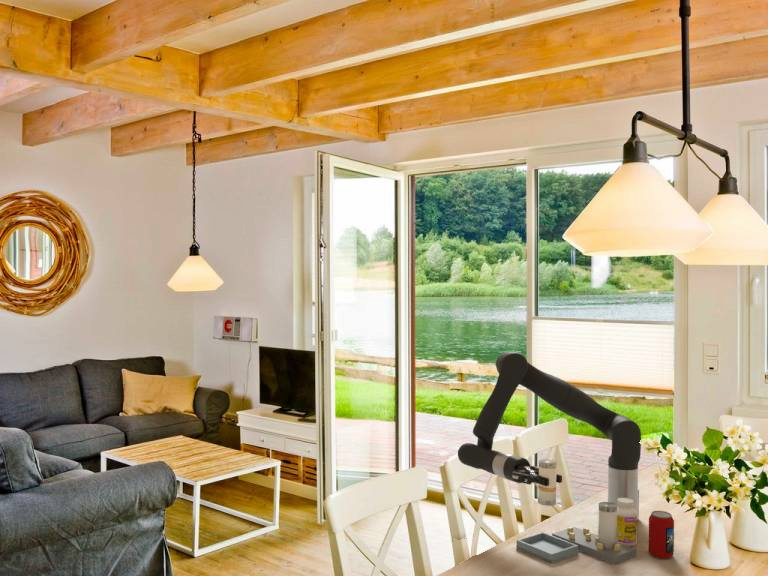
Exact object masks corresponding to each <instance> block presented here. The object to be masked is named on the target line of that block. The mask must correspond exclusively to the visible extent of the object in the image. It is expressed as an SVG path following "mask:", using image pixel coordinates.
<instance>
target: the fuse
mask: <svg viewBox="0 0 768 576" xmlns="http://www.w3.org/2000/svg"><path fill="white" fill-rule="evenodd" d="M597 526H598V527H597V529H598V531H597V532H598V534H597V535H598V543H601V544H603V549H607V550H613V549H614V545H615V544H617V505H616V504H614V503H611V502H608V501H602V502H599V503H598V525H597Z"/></svg>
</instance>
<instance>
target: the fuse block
mask: <svg viewBox="0 0 768 576" xmlns="http://www.w3.org/2000/svg"><path fill="white" fill-rule="evenodd" d="M551 535H552V536H554V537H557V538H560V539H562V540H565V541H568V542H570V543H573V544H575V545H578V552H582V553H584V554H587V555H589V556H592V557H593V558H594V557H595V558H597V559H599V560H603V561H605V562H607V563H610V564H613V565H616V564H618V562H619V563H621V562H623V561H626V559H627V560H630V559H632V558H635V557H636V556H637V549H636V548H634V547H633V546H626V545H624V544H621V543H618V539H617V544H615V545H614V549H613V550H607V549H603V544H601V543H598V534H596V533H592V532H590V529H589V528H587V527H583V529H581V528H578V527H576V526H569V527H567V528H566V529H562V530H559V531H557V532H556V531H555V532H552V533H551ZM615 563H616V564H615Z"/></svg>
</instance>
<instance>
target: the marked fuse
mask: <svg viewBox="0 0 768 576" xmlns="http://www.w3.org/2000/svg"><path fill="white" fill-rule="evenodd" d="M557 462H558V461H556V460H554V459H550V458H548V459H547V458H541V459H539V460H538V467H539V476H542V477H546V478H548V479H549V486H544V485H541V484H537V485H538V486H537V488H538V489H537V490H538V495H537V497H538V498H537V499H538V501H537V503H538V504H539V505H542V506H546V507H551V506H556V505H557V482H556V476H557V474H558V473H557V472H558V468H557V466H558V463H557Z"/></svg>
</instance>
